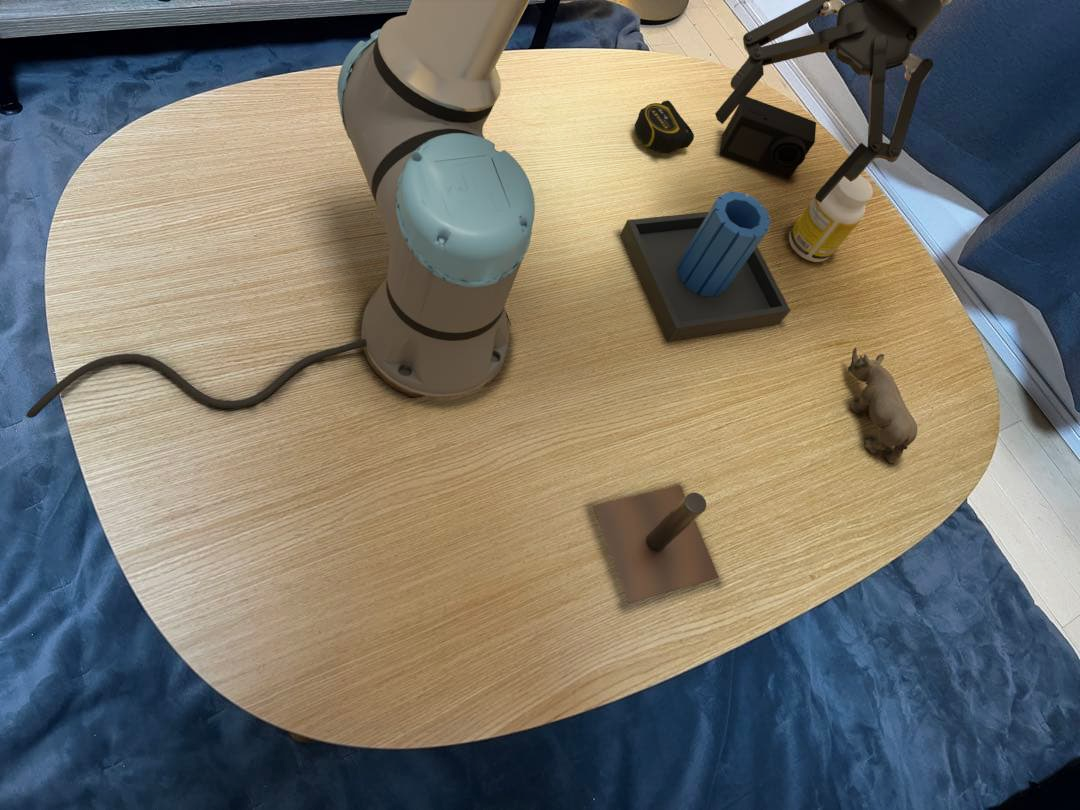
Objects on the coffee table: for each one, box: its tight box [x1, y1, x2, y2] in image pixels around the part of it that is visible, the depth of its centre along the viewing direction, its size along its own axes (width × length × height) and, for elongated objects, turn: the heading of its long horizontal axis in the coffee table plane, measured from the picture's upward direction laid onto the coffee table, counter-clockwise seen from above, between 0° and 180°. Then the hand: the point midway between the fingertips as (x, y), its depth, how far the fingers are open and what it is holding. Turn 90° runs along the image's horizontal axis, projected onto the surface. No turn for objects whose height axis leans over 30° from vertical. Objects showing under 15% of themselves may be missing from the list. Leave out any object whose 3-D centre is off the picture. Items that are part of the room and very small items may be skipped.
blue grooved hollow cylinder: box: [677, 190, 771, 297], centre depth 97 cm, size 6×7×11 cm
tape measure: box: [634, 99, 695, 155], centre depth 111 cm, size 7×7×4 cm
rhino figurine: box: [847, 346, 918, 464], centre depth 96 cm, size 4×14×6 cm, turn 12°
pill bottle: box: [788, 174, 874, 263], centre depth 105 cm, size 6×6×11 cm
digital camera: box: [719, 95, 817, 180], centre depth 113 cm, size 10×5×7 cm, turn 77°
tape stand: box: [592, 485, 720, 604], centre depth 79 cm, size 10×10×11 cm
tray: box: [619, 211, 792, 342], centre depth 101 cm, size 16×16×3 cm
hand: (767, 158), depth 90 cm, fingers open, 13 cm apart
